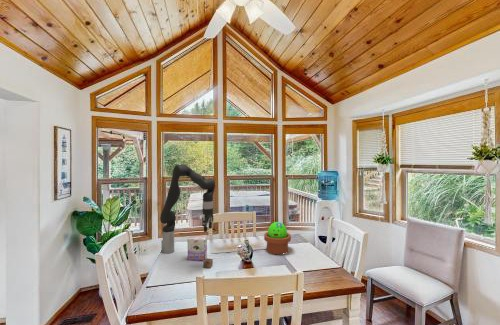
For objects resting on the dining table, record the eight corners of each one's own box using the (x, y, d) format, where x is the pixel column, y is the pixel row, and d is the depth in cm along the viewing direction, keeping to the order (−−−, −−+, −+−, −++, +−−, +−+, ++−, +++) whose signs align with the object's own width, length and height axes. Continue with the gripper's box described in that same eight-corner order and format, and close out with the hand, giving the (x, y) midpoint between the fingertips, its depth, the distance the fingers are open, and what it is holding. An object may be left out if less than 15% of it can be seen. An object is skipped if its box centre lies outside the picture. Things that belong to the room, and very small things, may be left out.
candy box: (207, 258, 191) (207, 237, 191) (205, 261, 185) (205, 239, 185) (190, 257, 192) (190, 236, 192) (187, 260, 186) (187, 238, 186)
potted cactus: (267, 245, 219) (267, 217, 219) (292, 247, 214) (292, 219, 213) (261, 254, 198) (261, 223, 198) (289, 257, 192) (289, 225, 192)
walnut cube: (203, 268, 174) (203, 261, 174) (206, 265, 179) (206, 258, 179) (209, 268, 173) (209, 261, 173) (212, 265, 178) (212, 259, 178)
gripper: (207, 205, 183) (207, 226, 183) (198, 209, 169) (198, 232, 169) (216, 205, 181) (216, 227, 181) (208, 209, 167) (208, 233, 167)
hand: (207, 230), depth 175 cm, fingers open, 8 cm apart
